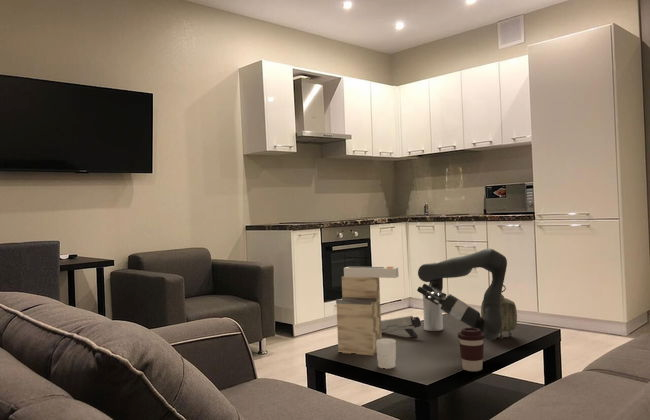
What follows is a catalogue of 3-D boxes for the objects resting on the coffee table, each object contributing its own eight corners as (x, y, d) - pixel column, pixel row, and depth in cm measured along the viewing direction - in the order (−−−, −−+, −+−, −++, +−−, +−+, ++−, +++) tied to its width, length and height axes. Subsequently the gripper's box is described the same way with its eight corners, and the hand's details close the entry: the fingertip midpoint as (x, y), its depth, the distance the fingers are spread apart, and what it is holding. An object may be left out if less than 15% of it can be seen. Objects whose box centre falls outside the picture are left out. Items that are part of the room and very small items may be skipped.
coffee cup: (456, 365, 206) (455, 326, 206) (482, 364, 206) (480, 326, 206) (462, 373, 196) (460, 332, 196) (489, 372, 196) (487, 332, 196)
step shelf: (348, 345, 242) (345, 275, 242) (381, 348, 236) (379, 276, 235) (338, 352, 231) (335, 279, 231) (372, 355, 224) (370, 280, 224)
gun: (422, 336, 249) (417, 315, 250) (378, 342, 264) (373, 322, 265) (424, 335, 251) (419, 314, 252) (380, 341, 266) (376, 321, 267)
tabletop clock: (512, 334, 250) (510, 281, 250) (519, 339, 241) (517, 284, 241) (481, 335, 251) (479, 283, 250) (487, 340, 241) (485, 285, 241)
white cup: (373, 365, 211) (372, 340, 211) (390, 362, 214) (389, 337, 214) (382, 370, 204) (381, 344, 203) (400, 367, 207) (399, 341, 207)
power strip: (347, 275, 241) (347, 265, 241) (398, 276, 231) (398, 266, 231) (344, 276, 237) (343, 266, 237) (395, 277, 228) (395, 267, 228)
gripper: (461, 296, 226) (428, 277, 231) (455, 302, 213) (420, 281, 218) (453, 311, 227) (420, 291, 233) (447, 318, 214) (412, 297, 220)
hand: (420, 286), depth 225 cm, fingers open, 8 cm apart
